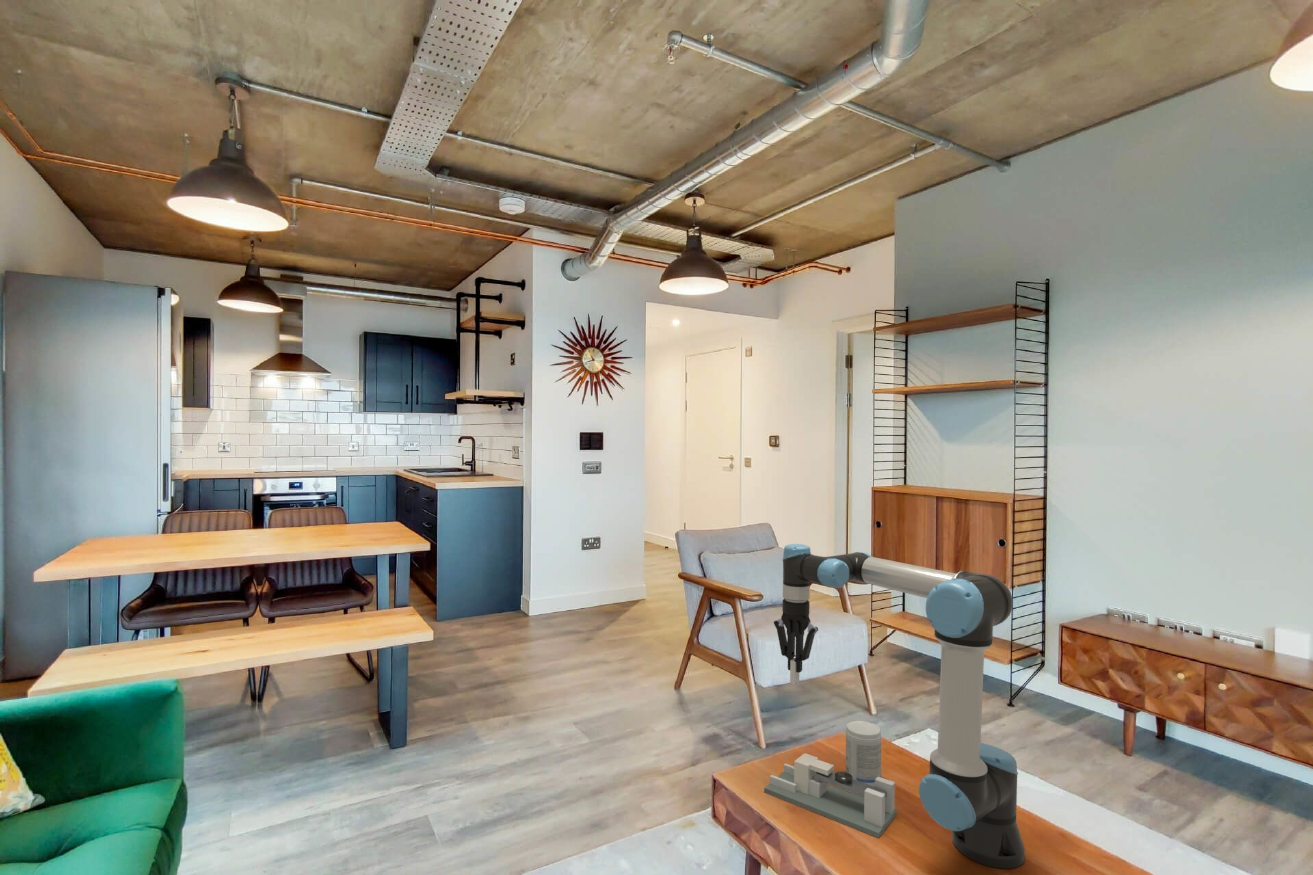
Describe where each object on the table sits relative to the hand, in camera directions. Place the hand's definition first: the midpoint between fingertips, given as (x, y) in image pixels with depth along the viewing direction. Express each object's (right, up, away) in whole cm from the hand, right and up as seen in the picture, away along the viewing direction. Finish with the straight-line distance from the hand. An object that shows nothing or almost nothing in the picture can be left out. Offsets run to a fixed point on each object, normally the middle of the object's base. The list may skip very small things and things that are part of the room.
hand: (794, 682), depth 182 cm
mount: (+6, -26, -14) cm, 30 cm away
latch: (+3, -25, -10) cm, 27 cm away
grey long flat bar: (+11, -21, -16) cm, 29 cm away
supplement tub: (+19, -27, -2) cm, 33 cm away
